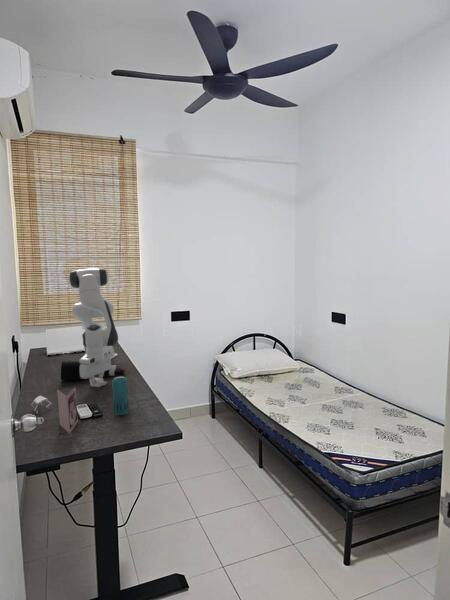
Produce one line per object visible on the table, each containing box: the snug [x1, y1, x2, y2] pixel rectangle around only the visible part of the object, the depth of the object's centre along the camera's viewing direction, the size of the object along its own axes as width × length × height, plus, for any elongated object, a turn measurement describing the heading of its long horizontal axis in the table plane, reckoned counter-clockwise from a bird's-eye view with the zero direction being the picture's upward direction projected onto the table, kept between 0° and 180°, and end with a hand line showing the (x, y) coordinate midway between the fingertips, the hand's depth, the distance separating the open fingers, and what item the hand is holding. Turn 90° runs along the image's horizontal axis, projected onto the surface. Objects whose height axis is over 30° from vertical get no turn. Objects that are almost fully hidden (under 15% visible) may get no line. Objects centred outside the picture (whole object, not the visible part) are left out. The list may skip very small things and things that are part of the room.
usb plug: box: [89, 377, 108, 388], centre depth 212 cm, size 10×4×4 cm, turn 66°
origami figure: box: [30, 395, 53, 414], centre depth 182 cm, size 12×8×5 cm
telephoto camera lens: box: [60, 360, 126, 381], centre depth 226 cm, size 10×34×10 cm, turn 104°
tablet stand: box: [45, 325, 86, 357], centre depth 290 cm, size 18×25×17 cm
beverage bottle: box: [111, 368, 130, 416], centre depth 170 cm, size 6×7×20 cm
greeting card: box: [57, 387, 79, 434], centre depth 160 cm, size 11×7×15 cm, turn 5°
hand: (97, 382), depth 212 cm, fingers closed on usb plug, 4 cm apart
